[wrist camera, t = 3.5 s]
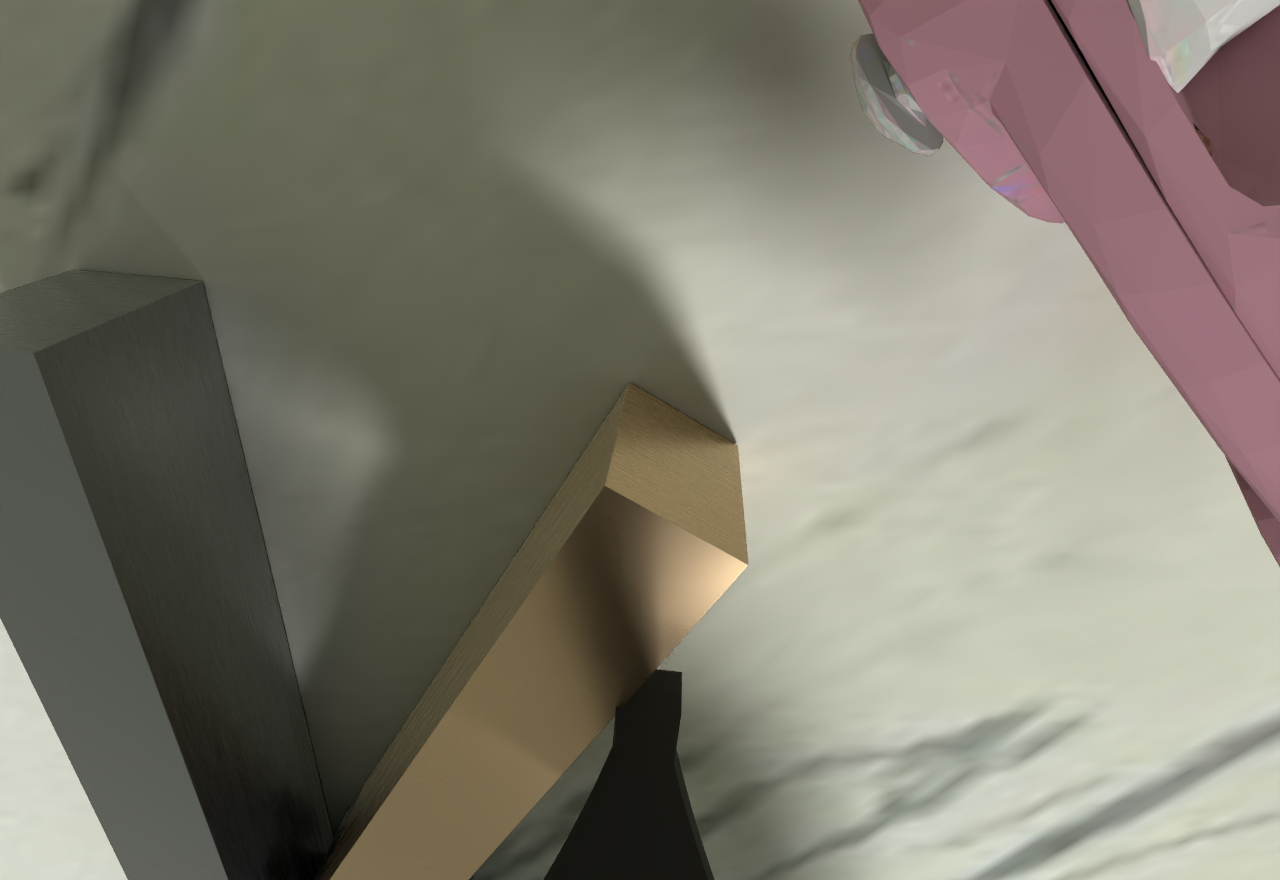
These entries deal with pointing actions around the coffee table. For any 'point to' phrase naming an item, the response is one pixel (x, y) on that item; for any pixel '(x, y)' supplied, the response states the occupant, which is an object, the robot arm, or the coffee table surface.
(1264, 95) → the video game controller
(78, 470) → the grey l-shaped bar
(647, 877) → the robot arm
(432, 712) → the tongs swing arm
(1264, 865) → the coffee table surface
